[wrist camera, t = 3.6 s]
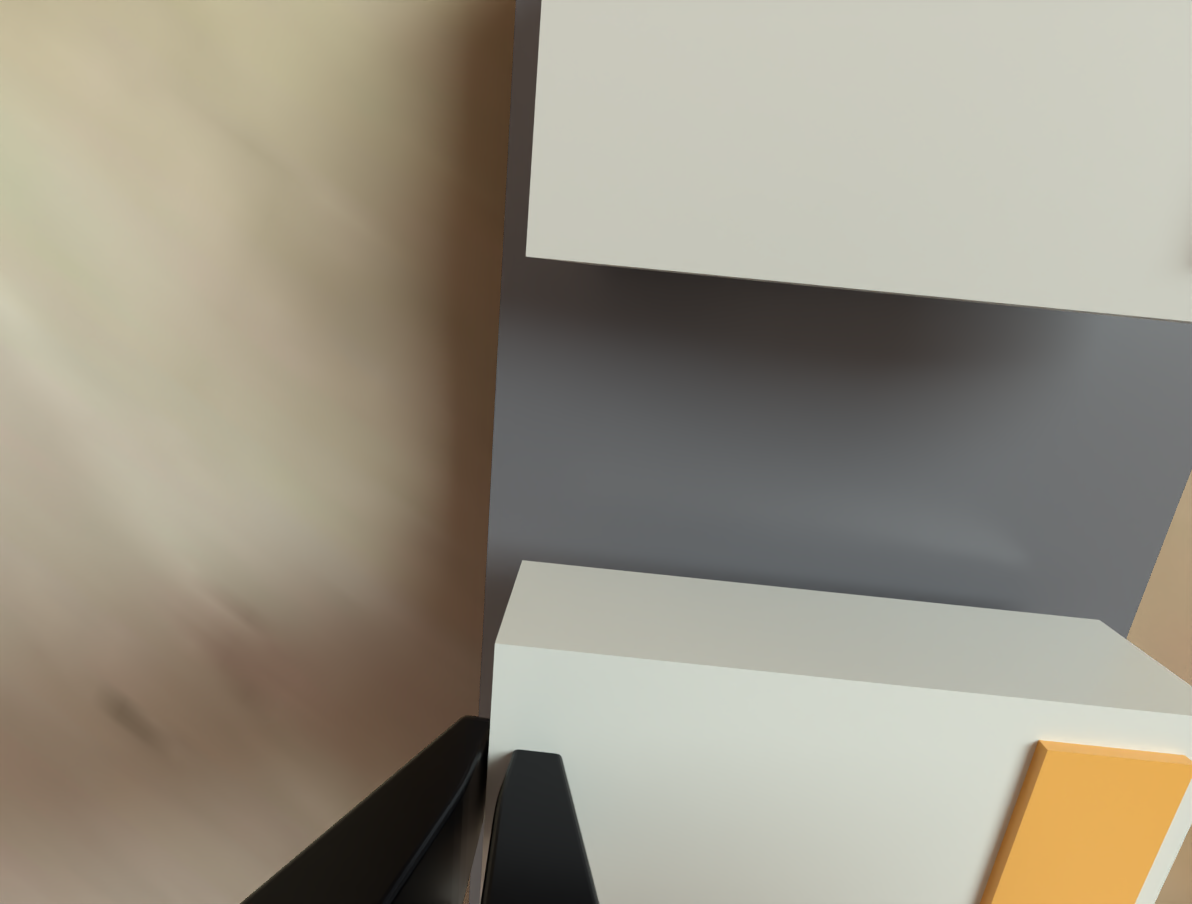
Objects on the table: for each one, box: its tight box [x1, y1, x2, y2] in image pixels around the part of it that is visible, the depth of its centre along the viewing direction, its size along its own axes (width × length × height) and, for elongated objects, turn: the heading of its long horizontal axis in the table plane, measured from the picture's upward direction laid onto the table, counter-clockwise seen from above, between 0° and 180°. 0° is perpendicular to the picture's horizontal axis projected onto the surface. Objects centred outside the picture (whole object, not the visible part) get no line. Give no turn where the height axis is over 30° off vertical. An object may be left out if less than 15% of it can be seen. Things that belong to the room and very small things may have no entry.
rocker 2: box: [480, 560, 1192, 904], centre depth 8 cm, size 8×4×2 cm, turn 84°
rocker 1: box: [526, 0, 1192, 324], centre depth 6 cm, size 8×4×2 cm, turn 84°
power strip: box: [469, 0, 1192, 904], centre depth 11 cm, size 10×30×4 cm, turn 174°
